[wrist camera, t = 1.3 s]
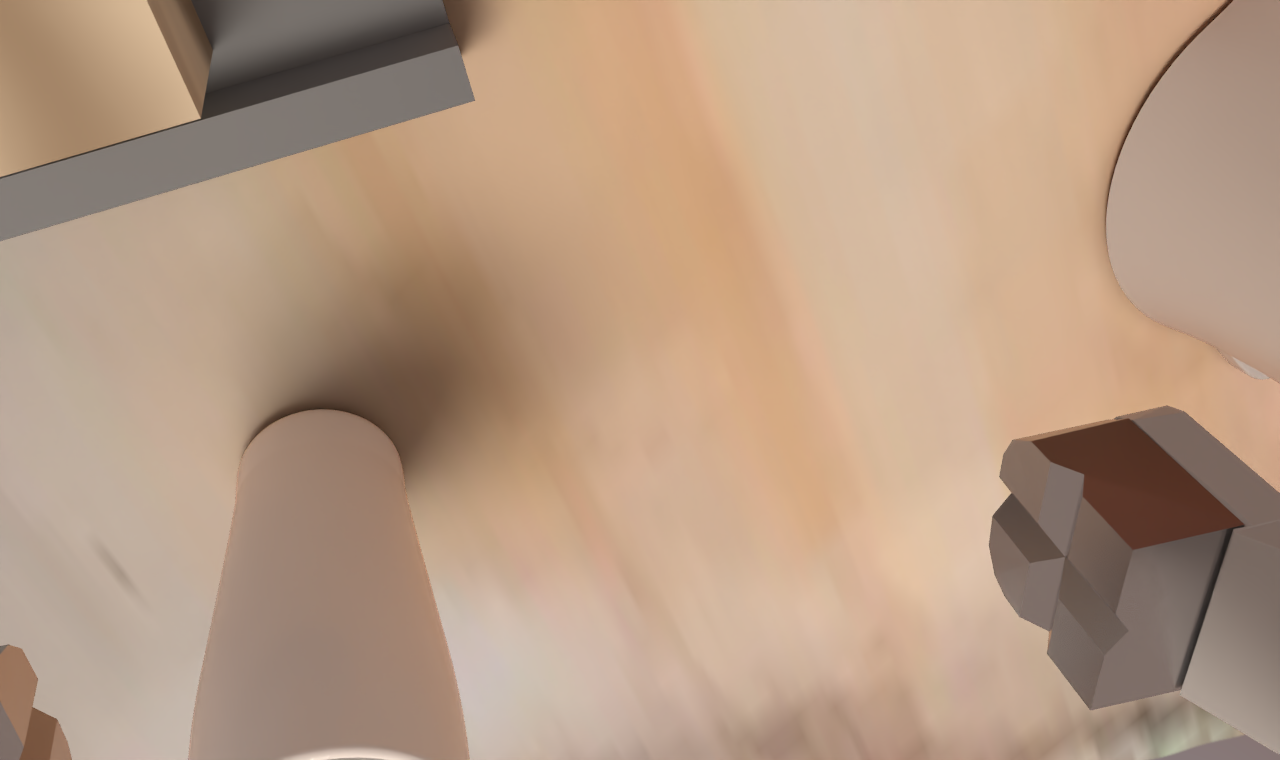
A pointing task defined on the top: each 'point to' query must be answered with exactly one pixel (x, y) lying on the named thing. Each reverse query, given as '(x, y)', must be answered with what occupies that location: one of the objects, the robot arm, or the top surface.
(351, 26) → the guide channel
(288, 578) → the white tumbler
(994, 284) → the top surface
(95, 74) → the block
